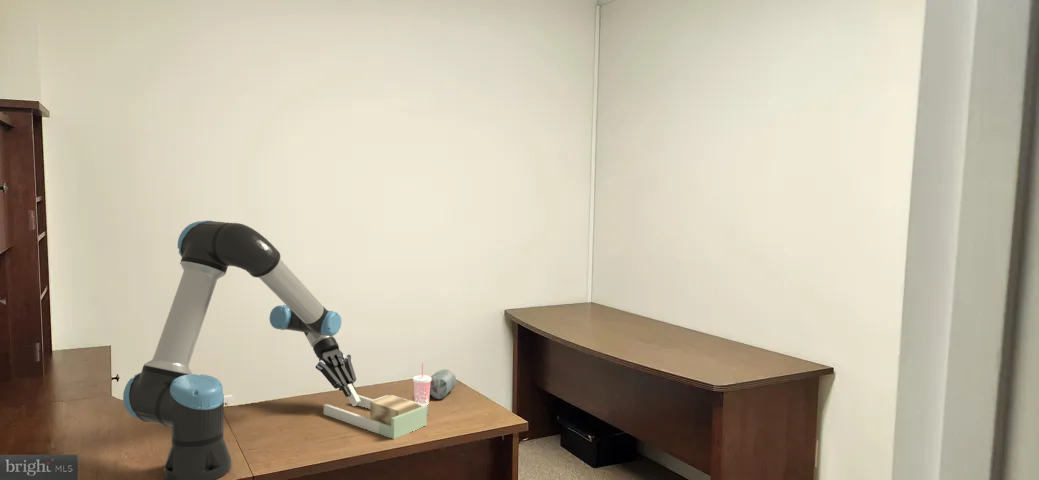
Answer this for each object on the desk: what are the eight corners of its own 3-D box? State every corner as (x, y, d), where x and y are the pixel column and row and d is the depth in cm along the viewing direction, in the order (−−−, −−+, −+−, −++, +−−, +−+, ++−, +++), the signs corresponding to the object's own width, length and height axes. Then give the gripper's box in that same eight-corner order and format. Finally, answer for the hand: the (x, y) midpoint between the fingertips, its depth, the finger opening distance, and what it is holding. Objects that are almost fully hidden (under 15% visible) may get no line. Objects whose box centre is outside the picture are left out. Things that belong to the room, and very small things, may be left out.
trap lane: (323, 414, 209) (323, 395, 209) (373, 397, 226) (373, 380, 225) (393, 439, 191) (394, 418, 191) (442, 419, 208) (442, 400, 207)
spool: (449, 394, 222) (440, 365, 225) (425, 404, 225) (416, 375, 227) (466, 392, 235) (457, 365, 238) (443, 401, 237) (434, 374, 240)
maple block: (370, 426, 201) (370, 401, 201) (389, 418, 208) (390, 395, 207) (398, 435, 194) (398, 410, 194) (417, 428, 201) (418, 403, 200)
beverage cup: (433, 406, 219) (434, 364, 218) (414, 408, 217) (415, 366, 216) (428, 400, 225) (429, 359, 224) (410, 402, 223) (411, 361, 222)
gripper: (334, 345, 225) (367, 404, 217) (301, 352, 215) (334, 415, 207) (344, 332, 222) (378, 392, 213) (311, 339, 211) (345, 402, 203)
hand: (356, 403), depth 210 cm, fingers closed
